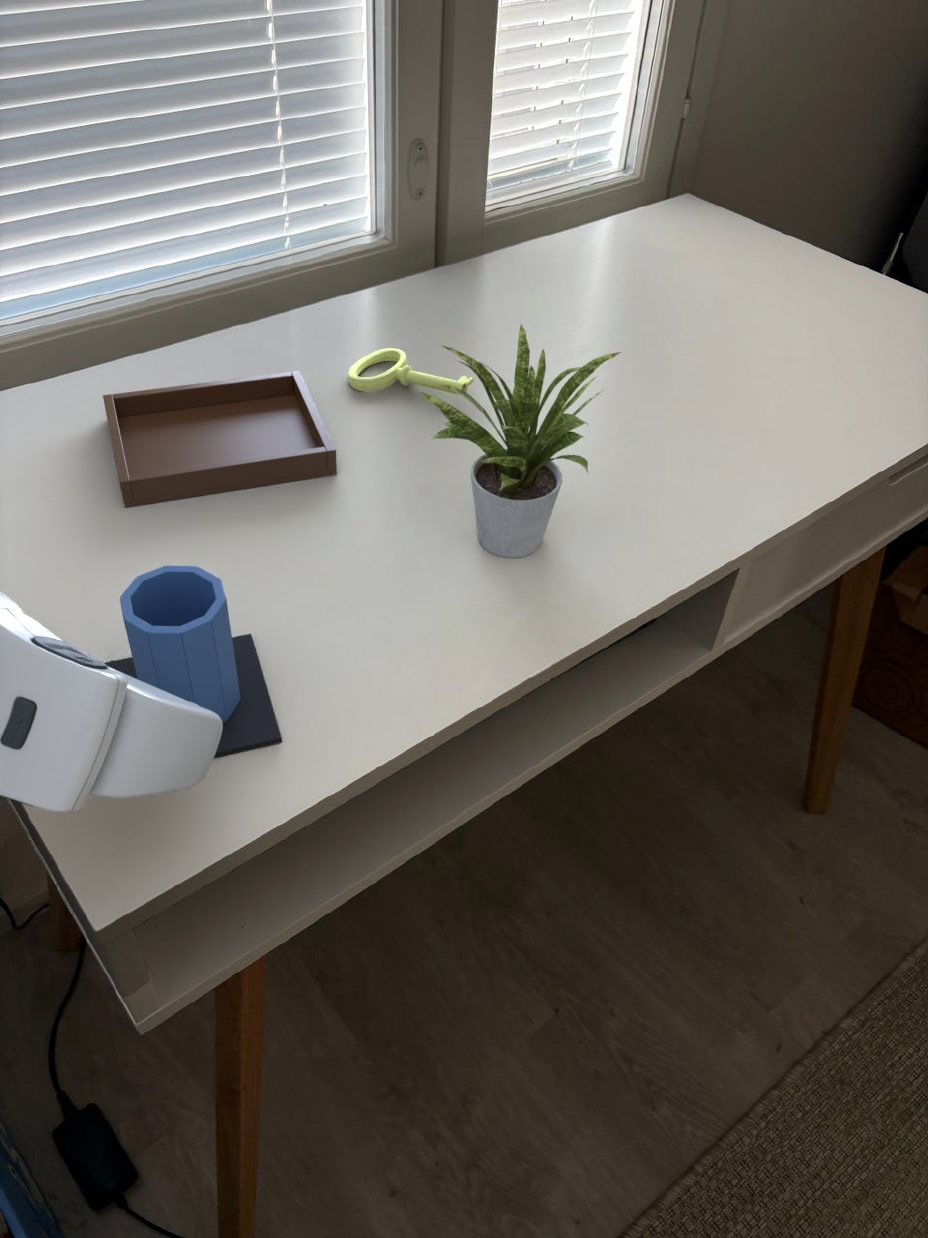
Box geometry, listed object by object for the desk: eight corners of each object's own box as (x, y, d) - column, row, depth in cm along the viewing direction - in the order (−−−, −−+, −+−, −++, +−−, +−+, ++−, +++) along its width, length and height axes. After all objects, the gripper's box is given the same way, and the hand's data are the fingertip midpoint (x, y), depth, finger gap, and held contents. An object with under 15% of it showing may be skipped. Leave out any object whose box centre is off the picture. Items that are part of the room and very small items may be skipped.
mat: (121, 779, 62) (119, 774, 62) (105, 667, 69) (103, 662, 68) (282, 742, 65) (281, 737, 64) (251, 638, 72) (251, 633, 71)
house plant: (532, 461, 90) (553, 285, 78) (639, 545, 82) (679, 363, 71) (397, 512, 83) (399, 329, 72) (499, 609, 75) (519, 420, 64)
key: (468, 407, 95) (469, 387, 94) (341, 389, 97) (341, 369, 95) (480, 370, 101) (482, 351, 99) (360, 354, 102) (360, 334, 100)
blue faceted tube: (151, 744, 64) (127, 643, 57) (139, 675, 68) (115, 573, 62) (247, 723, 65) (233, 622, 59) (229, 657, 69) (214, 556, 63)
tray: (124, 507, 82) (119, 482, 80) (107, 419, 91) (102, 394, 89) (337, 474, 87) (336, 449, 85) (300, 393, 96) (299, 370, 94)
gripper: (-251, 661, 48) (-36, 673, 61) (89, 830, 42) (245, 803, 56) (-205, 537, 48) (0, 576, 61) (141, 689, 42) (285, 696, 56)
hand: (119, 685), depth 59 cm, fingers open, 8 cm apart
